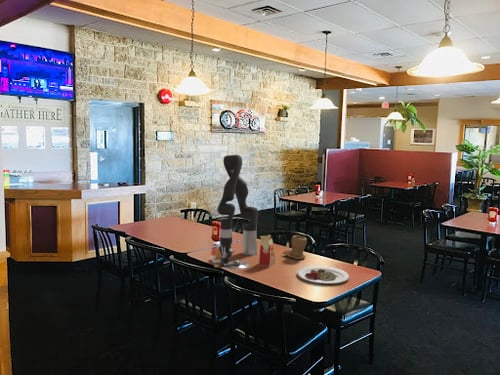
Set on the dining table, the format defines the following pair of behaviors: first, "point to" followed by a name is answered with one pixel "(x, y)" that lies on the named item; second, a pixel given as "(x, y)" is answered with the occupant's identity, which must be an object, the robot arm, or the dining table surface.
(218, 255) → the stop pin
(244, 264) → the base disc
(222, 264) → the crank
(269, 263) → the milk carton
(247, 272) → the dining table surface
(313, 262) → the dining table surface
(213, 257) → the tray
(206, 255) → the dining table surface
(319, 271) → the plated food
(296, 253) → the tan boot
